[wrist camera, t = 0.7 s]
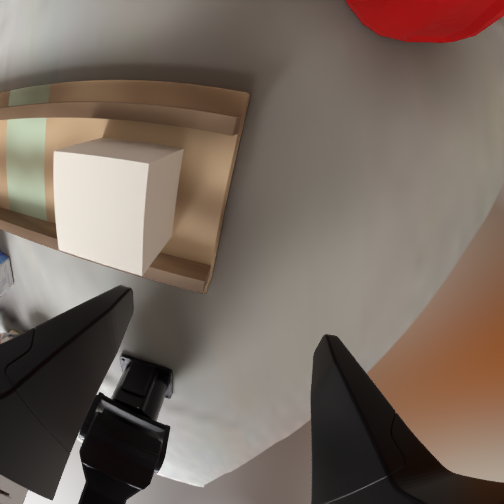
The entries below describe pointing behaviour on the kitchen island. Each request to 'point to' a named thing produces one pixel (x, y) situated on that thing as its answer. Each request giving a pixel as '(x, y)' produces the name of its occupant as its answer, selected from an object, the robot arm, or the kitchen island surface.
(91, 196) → the cream block
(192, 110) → the light wood shallow tray
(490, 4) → the water bottle
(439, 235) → the kitchen island surface
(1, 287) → the medicine box
